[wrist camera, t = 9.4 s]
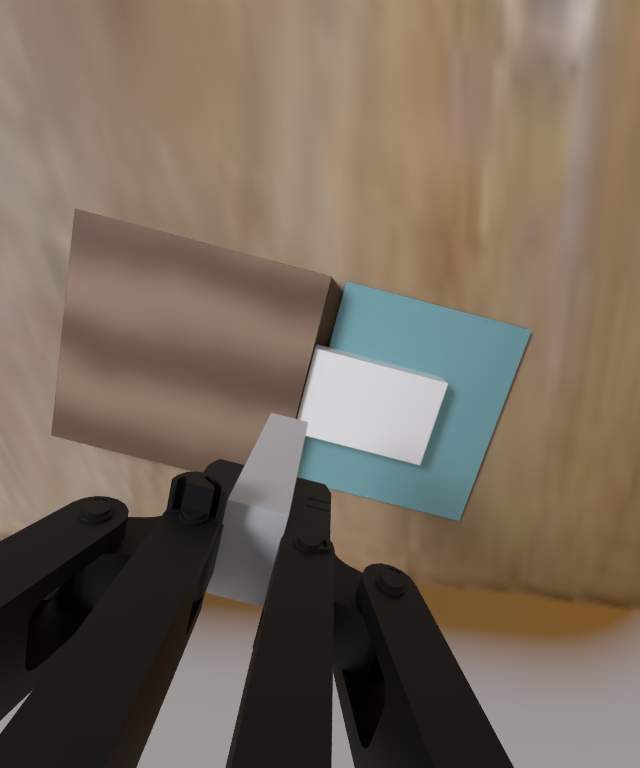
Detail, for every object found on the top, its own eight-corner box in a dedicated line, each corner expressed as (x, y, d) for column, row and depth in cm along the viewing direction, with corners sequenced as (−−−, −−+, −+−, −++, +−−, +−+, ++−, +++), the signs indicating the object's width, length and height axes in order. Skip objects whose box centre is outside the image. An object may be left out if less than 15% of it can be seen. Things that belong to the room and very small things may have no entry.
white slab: (316, 344, 28) (315, 348, 26) (440, 376, 29) (448, 383, 27) (296, 423, 30) (293, 432, 28) (414, 453, 30) (420, 465, 28)
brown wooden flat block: (102, 217, 27) (74, 208, 25) (332, 277, 28) (331, 276, 25) (78, 421, 31) (51, 435, 28) (282, 473, 31) (276, 492, 28)
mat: (346, 281, 28) (346, 281, 27) (528, 329, 28) (531, 330, 28) (294, 476, 31) (294, 479, 31) (457, 517, 32) (459, 521, 31)
